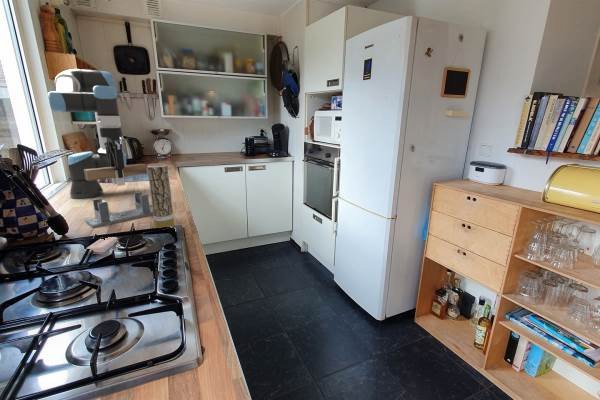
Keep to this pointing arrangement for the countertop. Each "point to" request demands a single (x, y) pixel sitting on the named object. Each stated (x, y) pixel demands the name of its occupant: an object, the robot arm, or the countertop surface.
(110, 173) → the walnut rail
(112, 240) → the soap bar
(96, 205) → the cup bracket
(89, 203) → the countertop surface
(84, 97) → the robot arm
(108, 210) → the rest rack
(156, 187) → the bark textured post
